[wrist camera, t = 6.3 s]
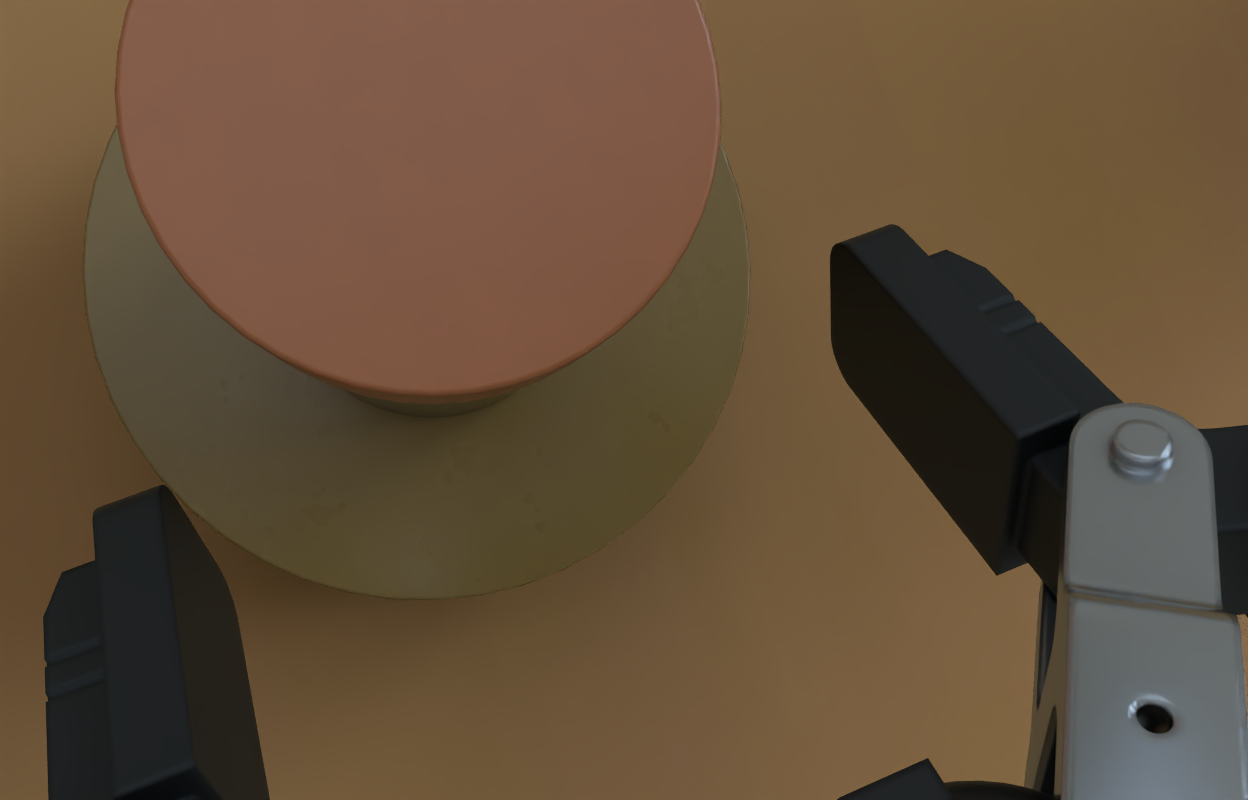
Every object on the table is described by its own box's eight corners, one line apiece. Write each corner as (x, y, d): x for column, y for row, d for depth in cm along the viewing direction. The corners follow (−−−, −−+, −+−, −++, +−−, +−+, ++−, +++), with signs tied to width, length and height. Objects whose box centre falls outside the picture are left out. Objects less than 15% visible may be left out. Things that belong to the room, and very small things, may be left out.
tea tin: (536, 84, 23) (630, -248, 12) (620, 374, 23) (792, 306, 12) (233, 157, 22) (36, -133, 11) (322, 460, 22) (213, 472, 11)
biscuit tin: (606, -2, 29) (651, -117, 23) (746, 482, 29) (826, 490, 23) (92, 117, 27) (-3, 25, 21) (244, 637, 27) (191, 689, 21)
